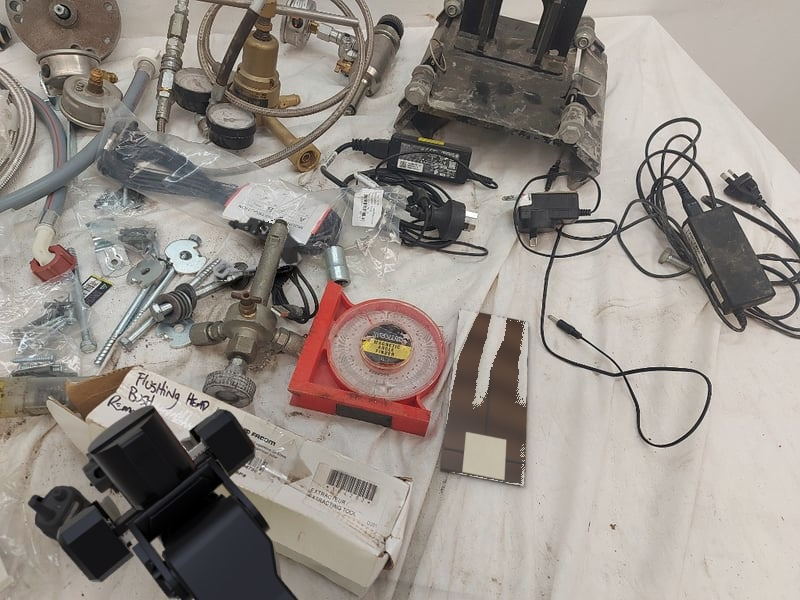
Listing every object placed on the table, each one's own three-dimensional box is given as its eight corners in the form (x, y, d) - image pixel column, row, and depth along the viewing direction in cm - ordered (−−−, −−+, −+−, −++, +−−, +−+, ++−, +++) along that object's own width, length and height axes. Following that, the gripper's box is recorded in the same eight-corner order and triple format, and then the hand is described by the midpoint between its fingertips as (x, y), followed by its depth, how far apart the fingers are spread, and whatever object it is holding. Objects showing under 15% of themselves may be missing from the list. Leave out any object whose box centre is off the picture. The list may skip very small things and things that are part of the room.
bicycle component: (214, 287, 93) (306, 273, 97) (208, 247, 89) (303, 235, 94) (209, 253, 102) (293, 243, 107) (203, 216, 99) (290, 206, 103)
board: (522, 487, 82) (525, 483, 81) (439, 470, 82) (441, 467, 81) (527, 325, 98) (529, 321, 97) (458, 312, 98) (459, 307, 97)
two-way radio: (82, 554, 71) (33, 521, 59) (48, 544, 71) (-8, 509, 59) (106, 509, 74) (64, 469, 62) (73, 500, 74) (25, 458, 62)
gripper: (222, 375, 54) (180, 362, 67) (20, 519, 45) (16, 473, 58) (282, 466, 57) (231, 437, 70) (106, 617, 48) (84, 552, 61)
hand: (147, 470), depth 65 cm, fingers open, 9 cm apart
